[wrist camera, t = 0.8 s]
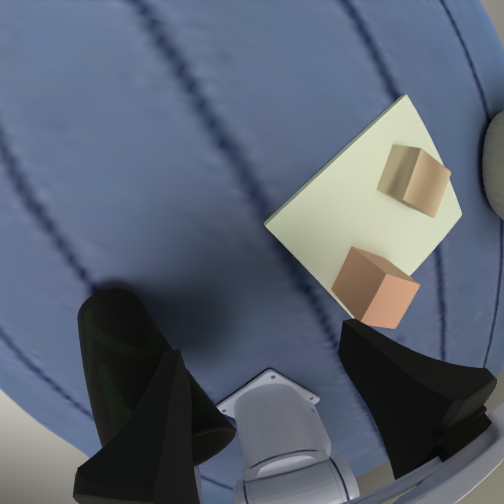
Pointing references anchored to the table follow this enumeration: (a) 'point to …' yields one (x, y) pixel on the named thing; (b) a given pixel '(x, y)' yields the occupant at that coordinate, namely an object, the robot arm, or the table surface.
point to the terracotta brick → (374, 289)
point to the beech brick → (414, 179)
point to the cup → (135, 370)
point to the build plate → (363, 204)
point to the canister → (494, 164)
